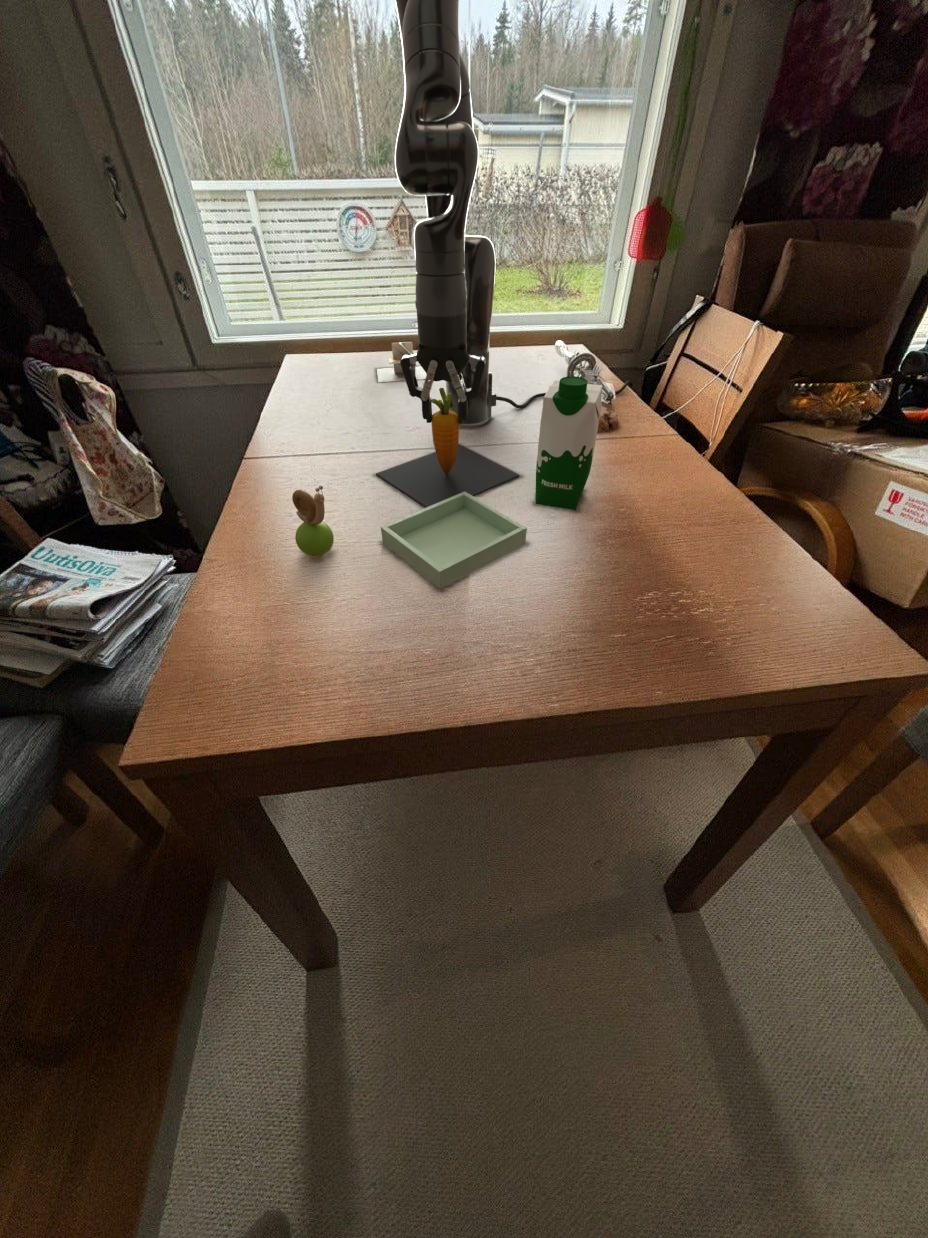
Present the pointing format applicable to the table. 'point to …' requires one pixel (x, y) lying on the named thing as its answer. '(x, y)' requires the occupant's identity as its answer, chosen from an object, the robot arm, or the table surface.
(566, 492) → the milk carton
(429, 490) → the mat
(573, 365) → the spaceship
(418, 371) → the architectural model
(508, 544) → the tray
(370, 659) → the table surface
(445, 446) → the carrot
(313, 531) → the snail figurine
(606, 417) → the cookie
